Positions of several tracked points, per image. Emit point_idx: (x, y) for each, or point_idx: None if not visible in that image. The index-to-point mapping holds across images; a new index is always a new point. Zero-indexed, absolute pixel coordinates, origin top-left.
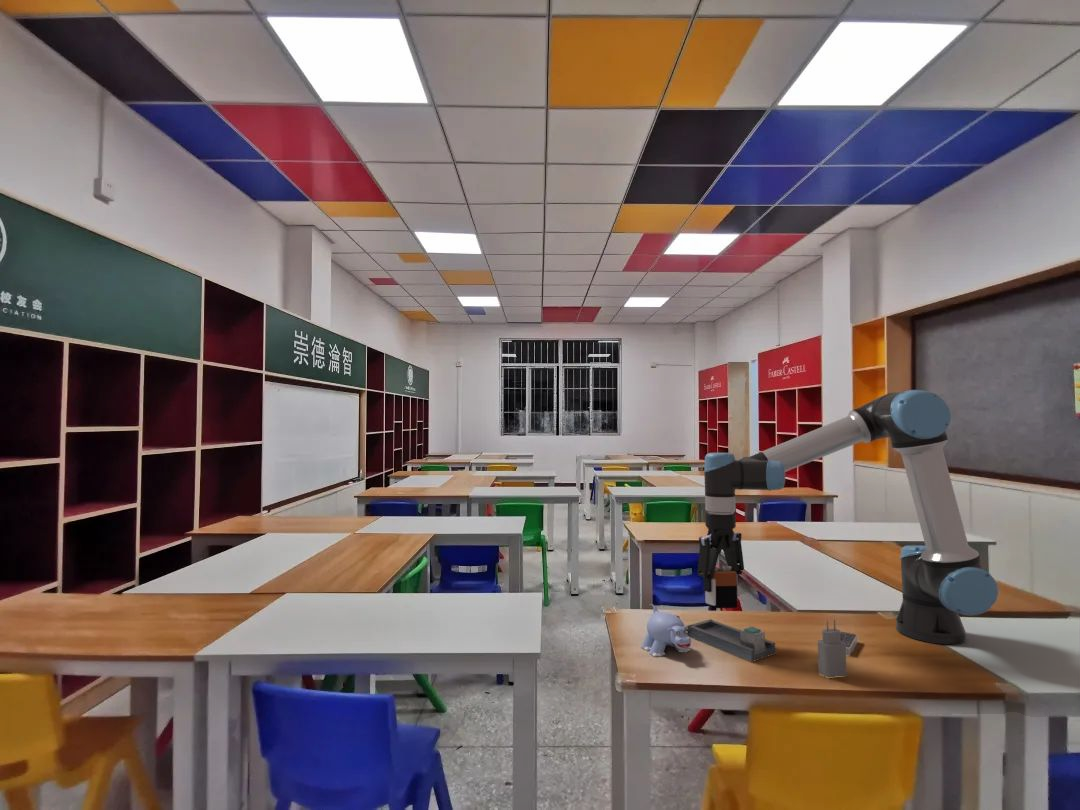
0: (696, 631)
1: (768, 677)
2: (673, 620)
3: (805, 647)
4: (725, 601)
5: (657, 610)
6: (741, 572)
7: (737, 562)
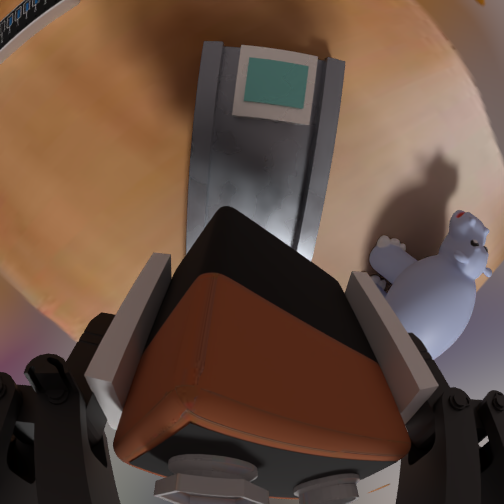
0: None
1: (380, 9)
2: (467, 298)
3: (91, 44)
4: (293, 259)
5: None
6: (36, 364)
7: (10, 449)
